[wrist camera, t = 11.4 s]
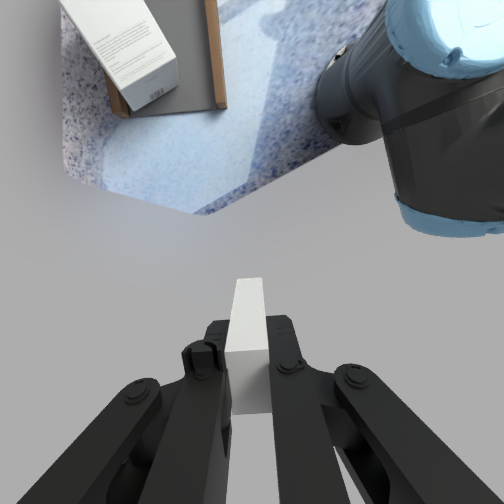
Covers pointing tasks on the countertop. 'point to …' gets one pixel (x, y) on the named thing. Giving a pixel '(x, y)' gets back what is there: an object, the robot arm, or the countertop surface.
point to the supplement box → (126, 46)
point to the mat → (184, 58)
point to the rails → (121, 105)
